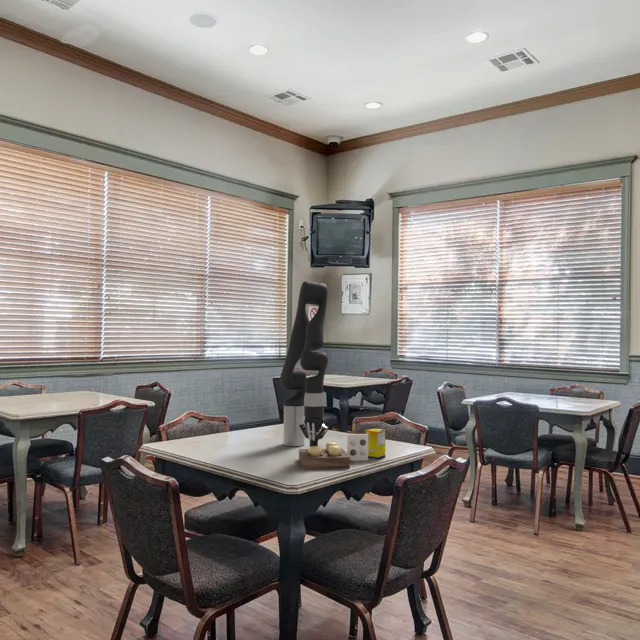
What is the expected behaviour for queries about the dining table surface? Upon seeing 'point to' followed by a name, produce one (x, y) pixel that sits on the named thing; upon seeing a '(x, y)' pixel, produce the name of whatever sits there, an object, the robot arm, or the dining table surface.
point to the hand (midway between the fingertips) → (313, 450)
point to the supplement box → (376, 443)
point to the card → (357, 446)
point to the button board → (323, 460)
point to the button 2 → (315, 451)
